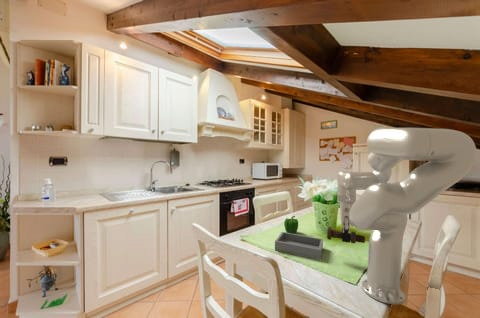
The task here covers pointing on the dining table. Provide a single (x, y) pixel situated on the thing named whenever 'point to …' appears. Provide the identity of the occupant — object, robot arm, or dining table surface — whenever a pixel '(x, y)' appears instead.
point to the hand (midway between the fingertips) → (345, 239)
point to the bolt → (337, 234)
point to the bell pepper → (291, 225)
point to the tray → (299, 245)
